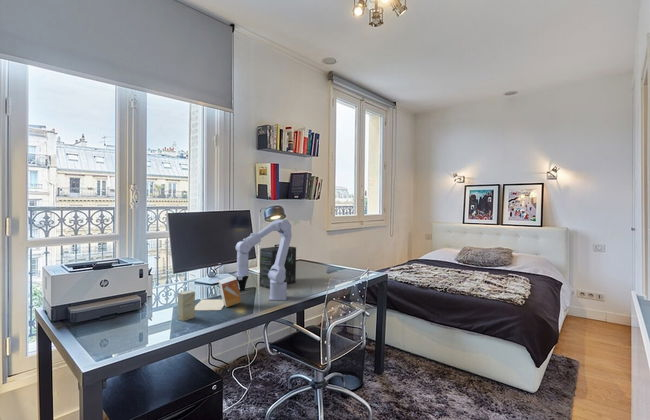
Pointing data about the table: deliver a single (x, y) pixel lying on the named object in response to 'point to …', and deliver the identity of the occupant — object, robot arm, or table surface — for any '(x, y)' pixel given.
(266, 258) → the headset box
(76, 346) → the table surface
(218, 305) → the mat
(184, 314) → the skincare box
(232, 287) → the small box
